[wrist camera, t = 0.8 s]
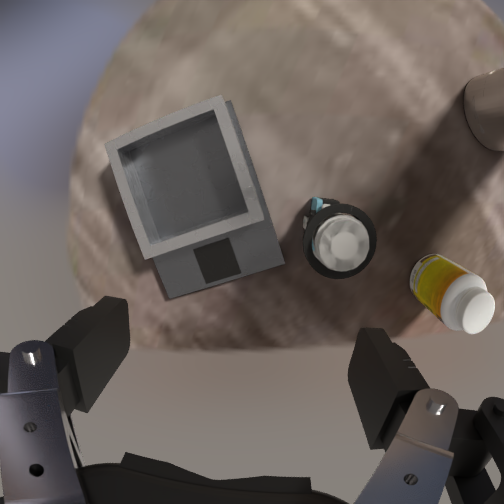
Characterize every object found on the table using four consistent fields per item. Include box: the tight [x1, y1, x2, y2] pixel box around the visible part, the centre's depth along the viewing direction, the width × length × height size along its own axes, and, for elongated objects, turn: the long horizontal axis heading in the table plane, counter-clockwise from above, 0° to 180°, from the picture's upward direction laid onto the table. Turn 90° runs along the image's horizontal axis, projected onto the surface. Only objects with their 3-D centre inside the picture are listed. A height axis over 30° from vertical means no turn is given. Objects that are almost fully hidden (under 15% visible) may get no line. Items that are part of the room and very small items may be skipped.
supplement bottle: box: [410, 254, 495, 334], centre depth 27 cm, size 6×6×10 cm
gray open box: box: [105, 95, 285, 299], centre depth 28 cm, size 12×16×4 cm
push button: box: [303, 197, 377, 279], centre depth 26 cm, size 7×5×10 cm
